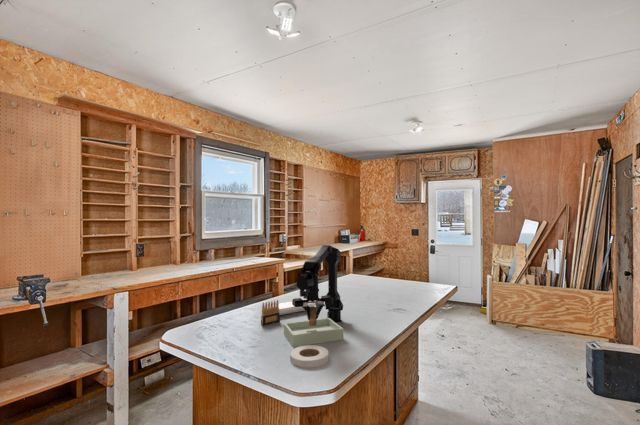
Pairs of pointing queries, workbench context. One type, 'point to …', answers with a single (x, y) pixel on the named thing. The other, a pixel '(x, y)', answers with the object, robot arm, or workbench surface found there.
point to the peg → (312, 316)
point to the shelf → (291, 308)
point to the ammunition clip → (270, 313)
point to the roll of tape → (315, 361)
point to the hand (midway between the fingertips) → (312, 319)
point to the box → (312, 332)
